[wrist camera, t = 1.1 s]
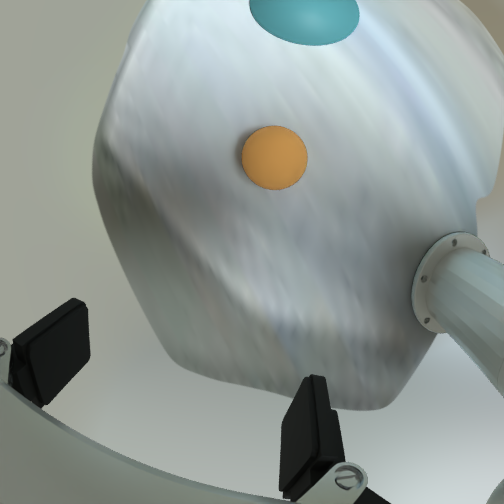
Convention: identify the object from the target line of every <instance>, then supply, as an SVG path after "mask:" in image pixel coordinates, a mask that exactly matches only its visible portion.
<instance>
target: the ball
mask: <svg viewBox="0 0 504 504" xmlns="http://www.w3.org/2000/svg"><path fill="white" fill-rule="evenodd" d="M242 165H243V168H244V170H245V172H246V174H247V176H248V177H249V178H250V179H251V180H252V181H253V182H254V183H255V184H257V185H258V186H260V187H263V188H265V189H270V190H280V189H285V188H287V187H290V186H291V185H293V184H294V183H296V182H297V181H298V180H299V179H300V178H301V176H302V175H303V173H304V171H305V169H306V166H307V151H306V147H305V145H304V143H303V141H302V140H301V139H300V137H299V136H298V135H297V134H296V133H294V132H293V131H291V130H290V129H287V128H285V127H281V126H267V127H263V128H261V129H259V130H257V131H255V132H254V133H253V134H252V135H251V136H250V137H249V138H248V139H247V141H246V142H245V144H244V147H243V150H242Z"/></svg>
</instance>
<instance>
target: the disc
mask: <svg viewBox="0 0 504 504" xmlns="http://www.w3.org/2000/svg"><path fill="white" fill-rule="evenodd" d="M250 8H251V12H252V14H253V16H254V18H255V20H256V21H257V22H258V23H259V25H260V26H262V27H263V28H264V29H265V30H266V31H268V32H269V33H271V34H273V35H274V36H276V37H278V38H281V39H283V40H286V41H289V42H292V43H297V44H302V45H327V44H332V43H335V42H338V41H341V40H343V39H345V38H346V37H348V36H349V35H350V34H351V33H352V32H353V31H354V30H355V28H356V27H357V24H358V22H359V8H358V5H357V3H356V1H355V0H250Z"/></svg>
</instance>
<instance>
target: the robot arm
mask: <svg viewBox="0 0 504 504" xmlns="http://www.w3.org/2000/svg"><path fill="white" fill-rule="evenodd" d="M411 299H412V307H413V311H414V314H415V316H416V318H417V319H418V321H419V322H420V323H421V324H422V326H424V327H425V328H426V329H427V330H429V331H432V332H434V333H448V334H449V335H450V336H451V337H452V338H453V339H454V340H455V342H456V343H457V344H458V345H460V347H461V348H462V349H463V350H464V351H465V353H466V354H467V355H468V356H469V357H470V358H471V359H472V360H473V362H474V363H475V364H476V365H477V366H478V367H479V369H480V370H481V371H482V372H483V373H484V374H485V376H486V377H487V378H488V379H489V380H490V382H491V383H492V384H493V385H494V387H495V388H496V389H497V390H498V392H500V394H501V395H502V396H503V397H504V264H502V263H500V262H498V261H496V260H494V259H492V258H490V255H489V252H488V249H487V248H486V246H485V244H484V243H483V242H482V241H481V240H480V239H479V238H477V237H476V236H474V235H471V234H469V233H464V232H457V233H452V234H449V235H447V236H445V237H443V238H442V239H440V240H439V241H437V242H436V243H435V244H434V245H433V246H432V247H431V248H430V249H429V251H428V252H427V253H426V255H425V256H424V257H423V259H422V261H421V263H420V265H419V267H418V269H417V272H416V274H415V277H414V281H413V285H412V295H411ZM88 324H89V323H88V308H87V307H86V304H85V303H84V302H83V301H80V300H78V299H76V298H71V299H70V300H68V301H67V302H65V303H64V304H63V305H61V306H59V307H58V308H57V309H55V310H54V311H52V312H51V313H49V314H48V315H46V316H45V317H43V318H42V319H40V320H39V321H38V322H36V323H35V324H33V325H32V326H30V327H29V328H28V329H26V330H25V331H23V332H22V333H21V334H19V335H18V336H17V337H15V338H14V339H13V344H12V345H10V343H9V342H8V341H7V340H6V339H4V338H0V504H391V503H389V502H388V501H386V500H385V499H383V498H382V497H380V496H379V495H377V494H376V493H375V492H373V491H372V490H370V489H369V488H368V487H366V486H367V483H368V477H367V474H366V472H365V471H364V469H362V468H361V467H360V466H358V465H356V464H354V463H351V462H346V461H345V455H344V448H343V442H342V436H341V431H340V425H339V420H338V414H337V411H336V410H332V409H331V407H330V401H329V395H328V389H327V384H326V378H325V377H324V376H318V375H313V374H311V375H310V376H309V377H305V378H304V379H303V381H302V383H301V385H300V387H299V389H298V391H297V393H296V395H295V397H294V399H293V401H292V403H291V405H290V407H289V409H288V411H287V413H286V415H285V417H284V419H283V421H282V426H281V452H280V454H281V455H280V474H279V491H281V492H283V499H284V498H285V499H290V501H286V500H280V499H274V498H268V497H263V496H257V495H251V494H246V493H240V492H236V491H232V490H227V489H223V488H219V487H214V486H211V485H207V484H203V483H199V482H196V481H192V480H189V479H186V478H182V477H179V476H176V475H173V474H170V473H167V472H164V471H162V470H159V469H156V468H153V467H151V466H148V465H146V464H143V463H141V462H138V461H136V460H133V459H131V458H129V457H126V456H124V455H122V454H120V453H118V452H115V451H113V450H111V449H109V448H107V447H105V446H103V445H101V444H99V443H97V442H95V441H93V440H91V439H90V438H88V437H86V436H84V435H82V434H80V433H79V432H77V431H75V430H74V429H72V428H70V427H68V426H66V425H65V424H63V423H62V422H60V421H59V420H57V419H55V418H54V417H52V416H51V415H49V414H48V413H46V412H45V411H43V410H42V409H41V408H42V407H43V406H44V405H48V404H49V403H50V402H51V401H52V400H53V399H54V397H56V396H57V394H58V393H59V392H60V391H61V390H62V389H63V388H64V387H65V386H66V384H68V382H69V381H70V380H71V379H72V378H73V377H74V376H75V375H76V374H77V373H78V372H79V371H80V370H81V369H82V368H83V366H84V365H85V364H86V363H87V362H88V361H89V359H90V341H89V325H88ZM31 401H32V402H31ZM486 504H504V479H503V480H502V481H501V482H500V484H499V485H498V486H497V487H496V489H495V490H494V491H493V493H492V494H491V496H490V498H489V499H488V501H487V503H486Z"/></svg>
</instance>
